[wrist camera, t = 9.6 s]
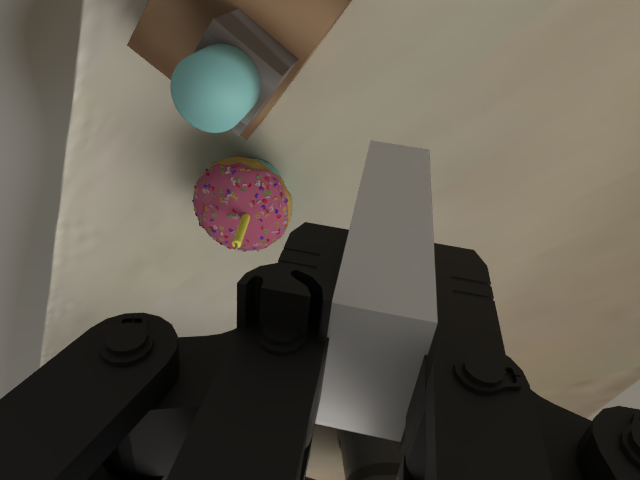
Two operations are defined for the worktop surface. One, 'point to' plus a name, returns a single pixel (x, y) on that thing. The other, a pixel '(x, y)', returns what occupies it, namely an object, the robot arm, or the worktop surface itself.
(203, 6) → the mount
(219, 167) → the cupcake
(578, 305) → the worktop surface
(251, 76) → the knob
